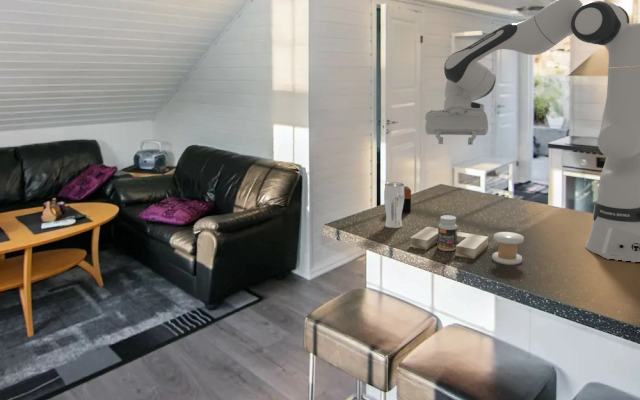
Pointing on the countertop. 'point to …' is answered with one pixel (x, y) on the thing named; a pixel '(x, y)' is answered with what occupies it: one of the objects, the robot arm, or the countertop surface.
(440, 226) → the pill bottle
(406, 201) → the battery
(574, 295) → the countertop surface
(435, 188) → the countertop surface
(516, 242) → the spool
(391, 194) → the beer glass
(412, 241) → the notched board
